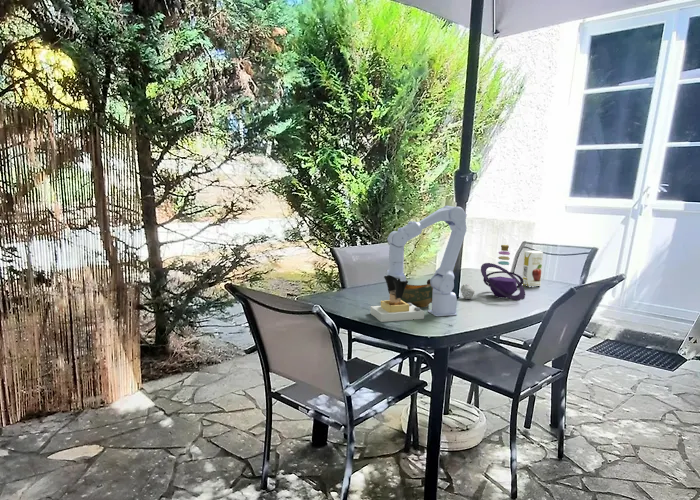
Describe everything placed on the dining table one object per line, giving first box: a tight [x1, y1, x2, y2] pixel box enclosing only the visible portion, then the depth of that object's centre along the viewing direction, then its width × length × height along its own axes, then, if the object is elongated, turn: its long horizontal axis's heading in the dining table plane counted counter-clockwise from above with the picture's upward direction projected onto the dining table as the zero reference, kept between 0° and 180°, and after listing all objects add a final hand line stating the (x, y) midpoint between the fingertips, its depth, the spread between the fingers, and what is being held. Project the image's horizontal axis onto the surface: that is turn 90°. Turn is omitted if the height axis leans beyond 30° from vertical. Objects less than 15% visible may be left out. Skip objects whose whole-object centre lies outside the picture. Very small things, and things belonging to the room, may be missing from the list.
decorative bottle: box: [480, 244, 526, 301], centre depth 215 cm, size 22×21×25 cm
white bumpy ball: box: [460, 283, 475, 300], centre depth 211 cm, size 6×7×7 cm
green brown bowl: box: [401, 283, 433, 309], centre depth 198 cm, size 13×20×10 cm, turn 28°
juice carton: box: [521, 250, 544, 287], centre depth 241 cm, size 8×9×19 cm
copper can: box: [389, 290, 401, 306], centre depth 179 cm, size 4×4×7 cm
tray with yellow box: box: [370, 300, 425, 323], centre depth 180 cm, size 18×12×6 cm, turn 108°
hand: (395, 295), depth 179 cm, fingers open, 7 cm apart
